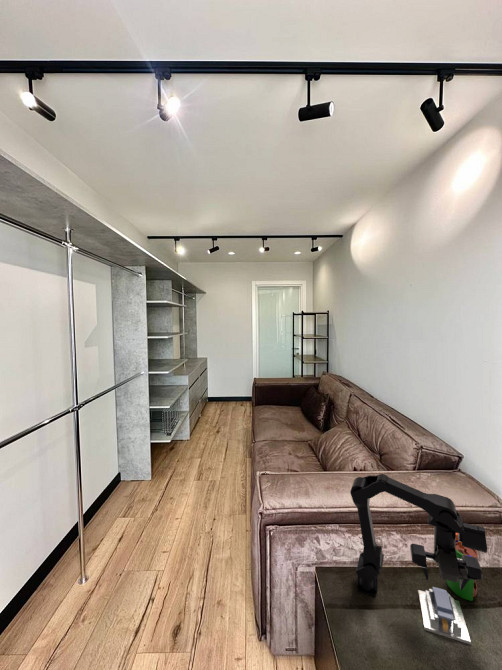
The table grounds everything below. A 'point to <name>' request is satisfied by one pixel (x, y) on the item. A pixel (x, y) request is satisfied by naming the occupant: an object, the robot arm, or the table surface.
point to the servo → (442, 606)
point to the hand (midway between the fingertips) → (443, 584)
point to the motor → (471, 585)
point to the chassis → (434, 625)
